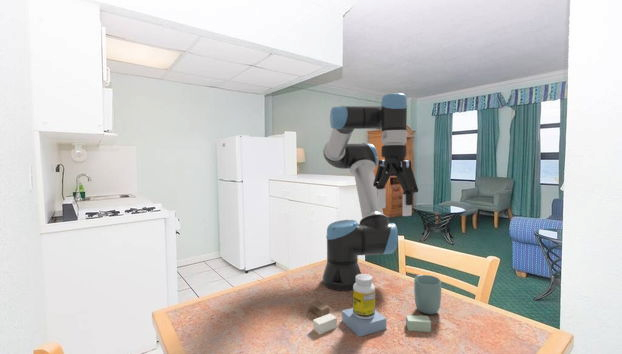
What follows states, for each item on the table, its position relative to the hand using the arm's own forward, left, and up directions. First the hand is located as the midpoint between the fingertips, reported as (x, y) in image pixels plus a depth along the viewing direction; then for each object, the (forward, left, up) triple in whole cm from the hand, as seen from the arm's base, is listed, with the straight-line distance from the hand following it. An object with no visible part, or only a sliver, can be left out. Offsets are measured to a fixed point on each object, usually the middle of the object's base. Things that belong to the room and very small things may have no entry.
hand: (393, 211), depth 95 cm
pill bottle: (+6, -15, -28) cm, 32 cm away
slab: (+6, -15, -30) cm, 35 cm away
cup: (+8, +7, -31) cm, 32 cm away
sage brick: (+14, -3, -31) cm, 34 cm away
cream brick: (+3, -26, -31) cm, 40 cm away
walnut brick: (-5, -24, -31) cm, 39 cm away
